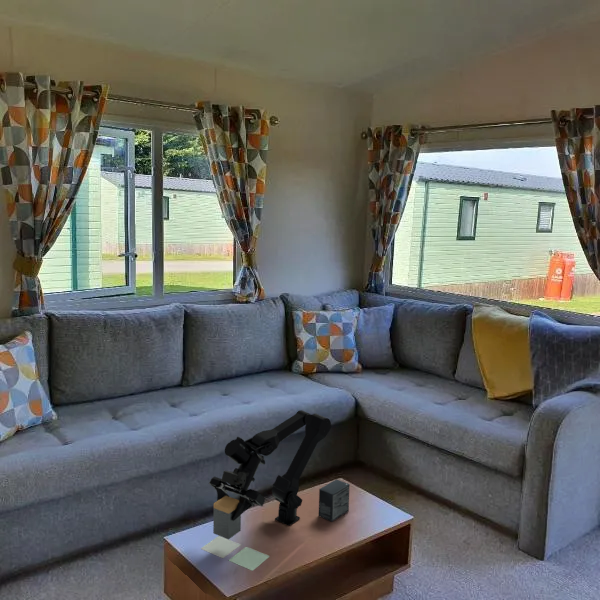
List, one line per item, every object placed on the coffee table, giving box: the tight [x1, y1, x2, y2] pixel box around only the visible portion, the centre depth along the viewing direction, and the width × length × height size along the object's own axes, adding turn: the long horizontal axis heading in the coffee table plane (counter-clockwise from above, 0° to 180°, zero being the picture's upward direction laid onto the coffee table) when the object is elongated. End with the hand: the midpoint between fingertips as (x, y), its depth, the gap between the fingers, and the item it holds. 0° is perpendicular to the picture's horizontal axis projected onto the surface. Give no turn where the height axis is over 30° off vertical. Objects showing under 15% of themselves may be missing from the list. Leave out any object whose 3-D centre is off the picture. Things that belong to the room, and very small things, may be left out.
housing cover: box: [213, 495, 239, 514], centre depth 182 cm, size 6×6×3 cm
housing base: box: [212, 507, 242, 540], centre depth 182 cm, size 6×6×8 cm
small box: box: [318, 479, 350, 523], centre depth 209 cm, size 11×6×10 cm, turn 141°
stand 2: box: [228, 546, 270, 572], centre depth 179 cm, size 9×9×1 cm
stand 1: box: [200, 535, 242, 559], centre depth 185 cm, size 9×9×1 cm
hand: (224, 517), depth 181 cm, fingers closed on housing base, 6 cm apart
